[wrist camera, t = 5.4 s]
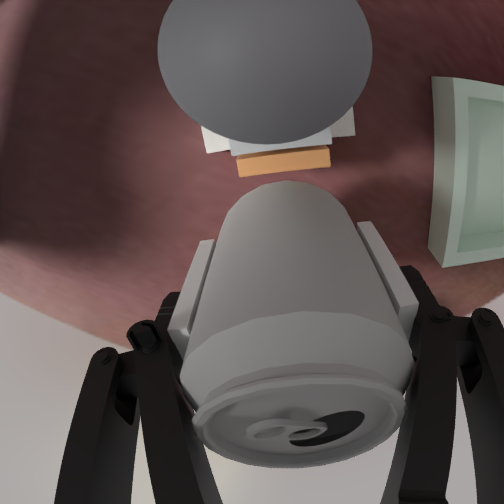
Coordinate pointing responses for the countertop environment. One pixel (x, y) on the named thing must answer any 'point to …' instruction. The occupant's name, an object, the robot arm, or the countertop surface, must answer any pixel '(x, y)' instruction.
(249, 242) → the can
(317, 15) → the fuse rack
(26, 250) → the countertop surface
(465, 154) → the tray
